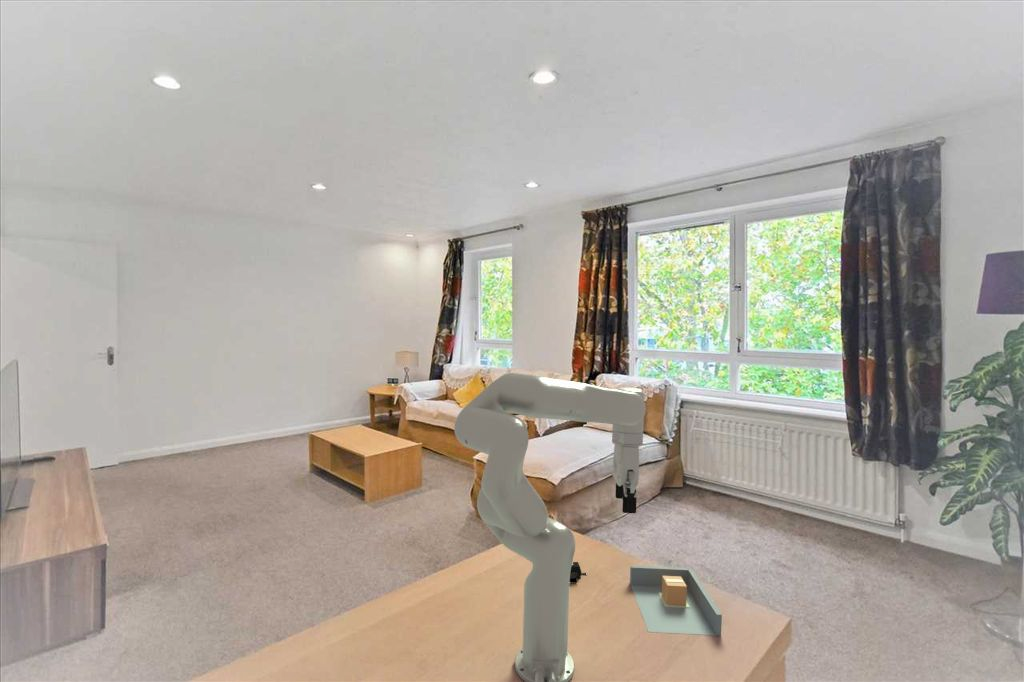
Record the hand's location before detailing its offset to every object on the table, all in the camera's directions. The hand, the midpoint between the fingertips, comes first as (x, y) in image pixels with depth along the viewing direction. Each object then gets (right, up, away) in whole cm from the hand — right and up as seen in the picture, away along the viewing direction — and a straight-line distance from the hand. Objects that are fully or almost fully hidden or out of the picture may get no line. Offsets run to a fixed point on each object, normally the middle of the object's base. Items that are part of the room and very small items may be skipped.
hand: (625, 505), depth 121 cm
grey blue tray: (+13, -29, +4) cm, 32 cm away
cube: (+15, -28, +7) cm, 32 cm away
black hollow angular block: (-11, -28, +19) cm, 36 cm away
